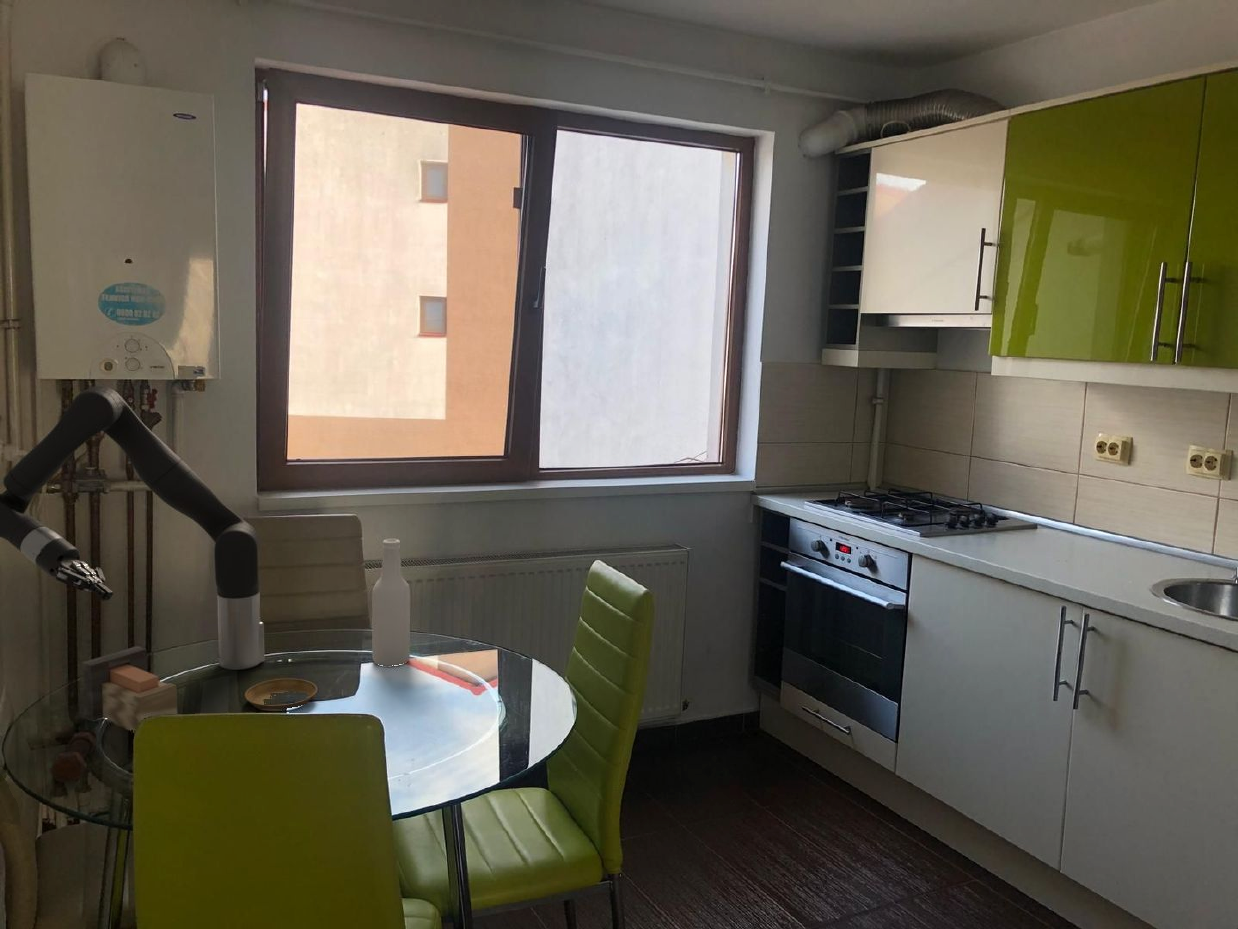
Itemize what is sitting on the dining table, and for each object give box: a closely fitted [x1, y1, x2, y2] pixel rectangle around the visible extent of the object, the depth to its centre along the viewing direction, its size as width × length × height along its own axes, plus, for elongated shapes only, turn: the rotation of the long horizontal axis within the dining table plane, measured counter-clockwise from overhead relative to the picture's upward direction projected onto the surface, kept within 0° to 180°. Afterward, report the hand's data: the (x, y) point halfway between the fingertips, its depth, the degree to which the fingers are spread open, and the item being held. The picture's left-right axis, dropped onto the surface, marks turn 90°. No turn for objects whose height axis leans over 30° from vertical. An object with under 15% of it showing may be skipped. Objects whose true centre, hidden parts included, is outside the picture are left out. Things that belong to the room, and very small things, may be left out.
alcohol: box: [371, 538, 411, 666], centre depth 239 cm, size 9×9×30 cm
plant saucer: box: [244, 678, 318, 713], centre depth 216 cm, size 15×15×3 cm
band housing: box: [81, 645, 178, 734], centre depth 204 cm, size 16×12×12 cm
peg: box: [109, 663, 159, 694], centre depth 205 cm, size 13×4×4 cm, turn 58°
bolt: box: [49, 728, 98, 783], centre depth 186 cm, size 6×5×15 cm
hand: (108, 597), depth 214 cm, fingers closed
